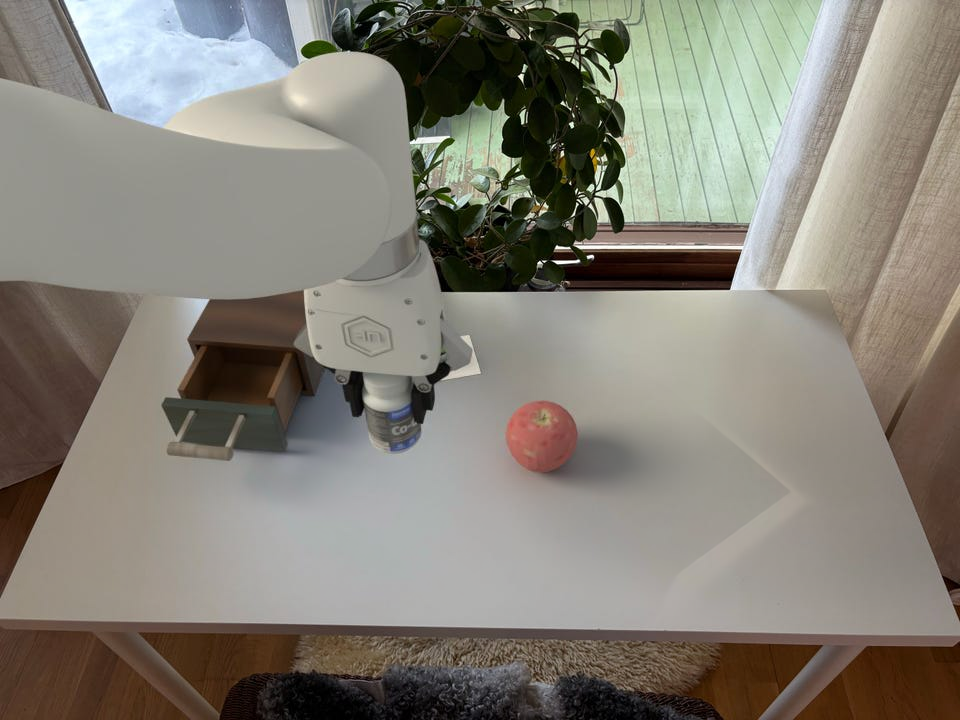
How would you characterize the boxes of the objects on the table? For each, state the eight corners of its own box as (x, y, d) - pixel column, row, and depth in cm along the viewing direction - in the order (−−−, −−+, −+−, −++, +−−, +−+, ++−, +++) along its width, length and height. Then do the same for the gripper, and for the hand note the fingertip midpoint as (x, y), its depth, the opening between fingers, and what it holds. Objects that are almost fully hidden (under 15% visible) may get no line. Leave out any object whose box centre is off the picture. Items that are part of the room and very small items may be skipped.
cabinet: (314, 396, 94) (301, 348, 88) (206, 387, 95) (186, 339, 90) (343, 319, 103) (333, 271, 98) (244, 312, 105) (228, 264, 99)
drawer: (268, 494, 83) (254, 457, 78) (157, 483, 84) (137, 447, 80) (315, 370, 96) (306, 333, 91) (218, 363, 97) (204, 325, 92)
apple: (588, 465, 86) (594, 417, 80) (535, 497, 83) (536, 450, 77) (546, 422, 90) (549, 374, 84) (494, 452, 87) (493, 404, 82)
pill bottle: (401, 463, 69) (391, 399, 63) (359, 441, 70) (345, 376, 65) (432, 428, 71) (426, 363, 65) (391, 407, 73) (381, 342, 67)
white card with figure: (461, 364, 97) (460, 351, 95) (438, 368, 96) (437, 355, 95) (455, 341, 100) (454, 328, 98) (432, 345, 99) (431, 332, 98)
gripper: (231, 261, 54) (284, 431, 67) (476, 280, 52) (481, 452, 65) (268, 199, 59) (311, 368, 72) (492, 215, 57) (494, 386, 70)
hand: (391, 406), depth 68 cm, fingers closed on pill bottle, 4 cm apart
